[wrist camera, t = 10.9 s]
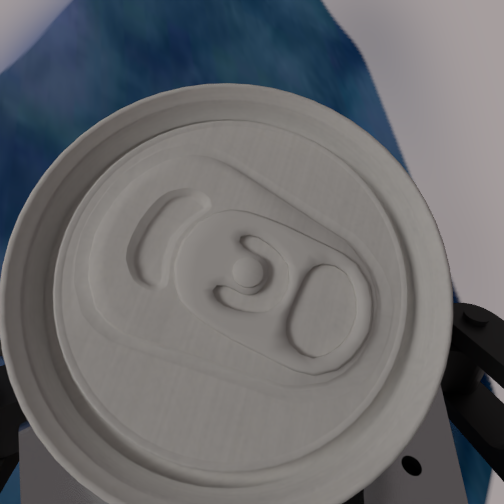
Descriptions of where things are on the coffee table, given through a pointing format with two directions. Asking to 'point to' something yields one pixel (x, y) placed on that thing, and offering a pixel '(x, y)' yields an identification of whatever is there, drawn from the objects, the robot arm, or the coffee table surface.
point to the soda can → (225, 302)
